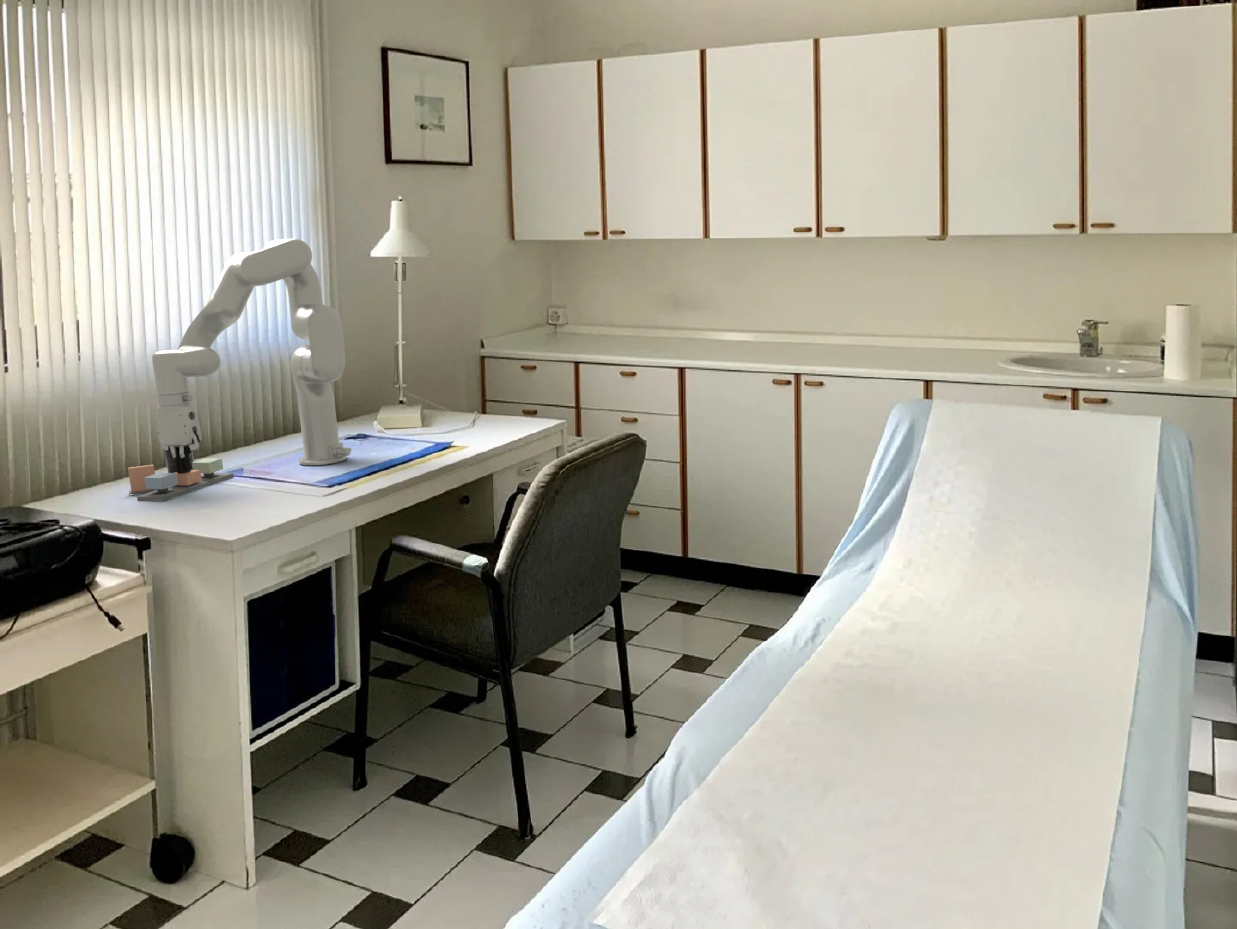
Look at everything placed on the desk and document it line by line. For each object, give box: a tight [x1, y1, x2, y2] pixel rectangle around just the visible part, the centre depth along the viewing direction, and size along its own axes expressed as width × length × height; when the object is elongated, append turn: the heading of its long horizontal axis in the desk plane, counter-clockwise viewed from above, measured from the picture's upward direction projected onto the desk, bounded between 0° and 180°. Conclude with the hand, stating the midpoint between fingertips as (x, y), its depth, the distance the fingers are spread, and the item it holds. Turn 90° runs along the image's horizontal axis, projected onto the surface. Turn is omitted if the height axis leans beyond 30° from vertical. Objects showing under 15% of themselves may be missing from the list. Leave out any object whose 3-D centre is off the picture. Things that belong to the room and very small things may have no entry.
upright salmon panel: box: [127, 464, 157, 495], centre depth 293 cm, size 4×7×7 cm, turn 112°
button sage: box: [192, 457, 224, 476], centre depth 302 cm, size 5×5×4 cm
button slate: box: [145, 472, 178, 492], centre depth 287 cm, size 5×5×4 cm
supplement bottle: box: [163, 449, 195, 473], centre depth 306 cm, size 7×7×12 cm
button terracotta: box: [175, 470, 202, 486], centre depth 295 cm, size 5×5×4 cm
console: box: [136, 472, 235, 502], centre depth 295 cm, size 8×26×1 cm, turn 159°
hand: (184, 472), depth 294 cm, fingers closed
